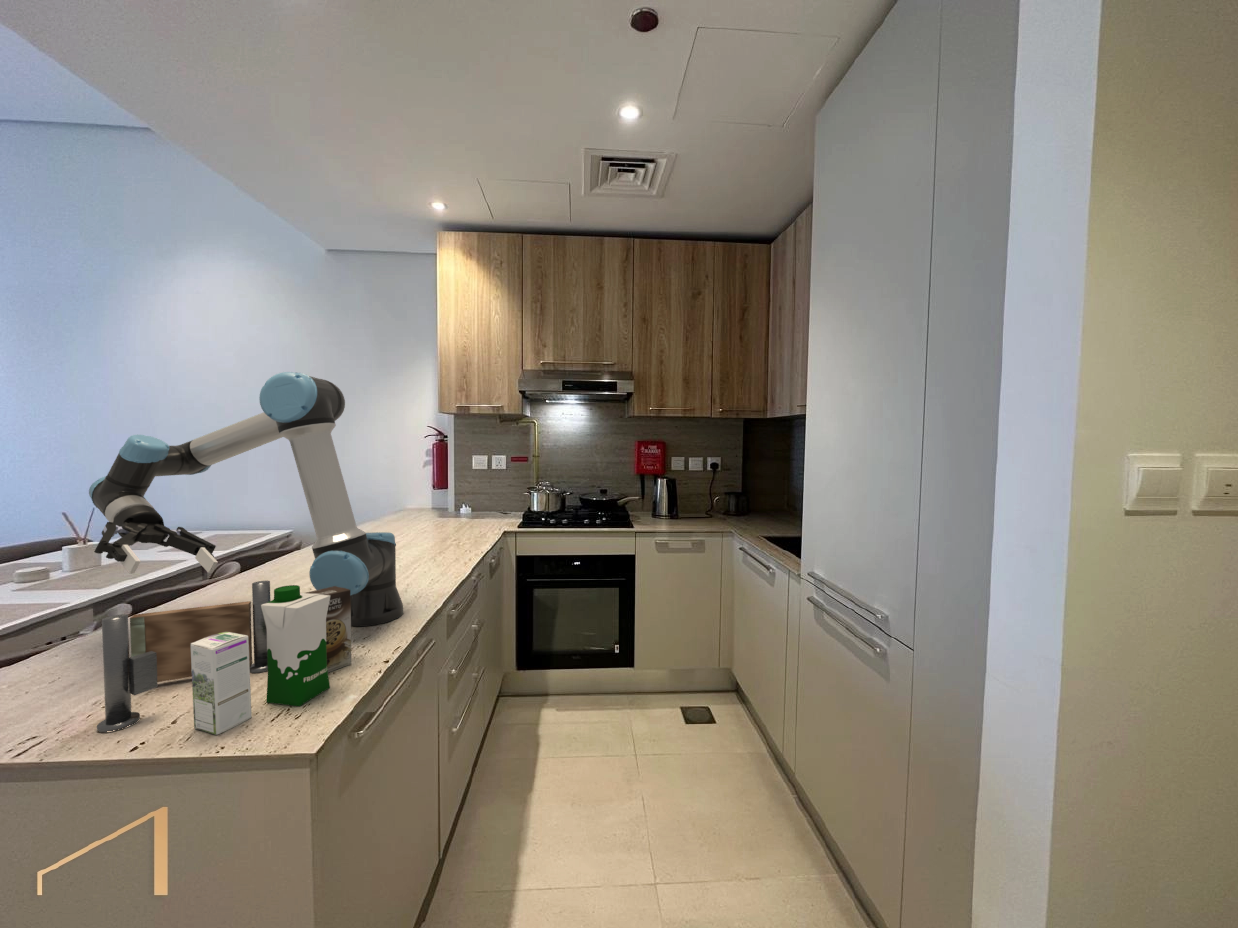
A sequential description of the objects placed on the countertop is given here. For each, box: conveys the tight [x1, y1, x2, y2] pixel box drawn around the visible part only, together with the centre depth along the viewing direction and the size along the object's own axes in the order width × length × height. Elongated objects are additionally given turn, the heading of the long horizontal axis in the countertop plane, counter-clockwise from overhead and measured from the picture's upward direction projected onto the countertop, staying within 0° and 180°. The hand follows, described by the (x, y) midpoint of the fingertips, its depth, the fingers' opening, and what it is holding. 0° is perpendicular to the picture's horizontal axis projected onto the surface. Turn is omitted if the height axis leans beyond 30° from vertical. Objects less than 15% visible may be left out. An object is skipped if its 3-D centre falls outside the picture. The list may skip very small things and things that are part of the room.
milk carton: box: [261, 584, 331, 707], centre depth 90 cm, size 9×9×20 cm
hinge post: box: [250, 580, 271, 674], centre depth 101 cm, size 5×5×18 cm
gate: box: [129, 600, 253, 683], centre depth 96 cm, size 18×2×13 cm, turn 117°
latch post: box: [96, 613, 159, 732], centre depth 81 cm, size 6×5×18 cm
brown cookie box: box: [305, 586, 352, 673], centre depth 101 cm, size 9×6×16 cm
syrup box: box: [191, 632, 253, 736], centre depth 81 cm, size 6×6×14 cm
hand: (176, 567), depth 101 cm, fingers open, 13 cm apart
